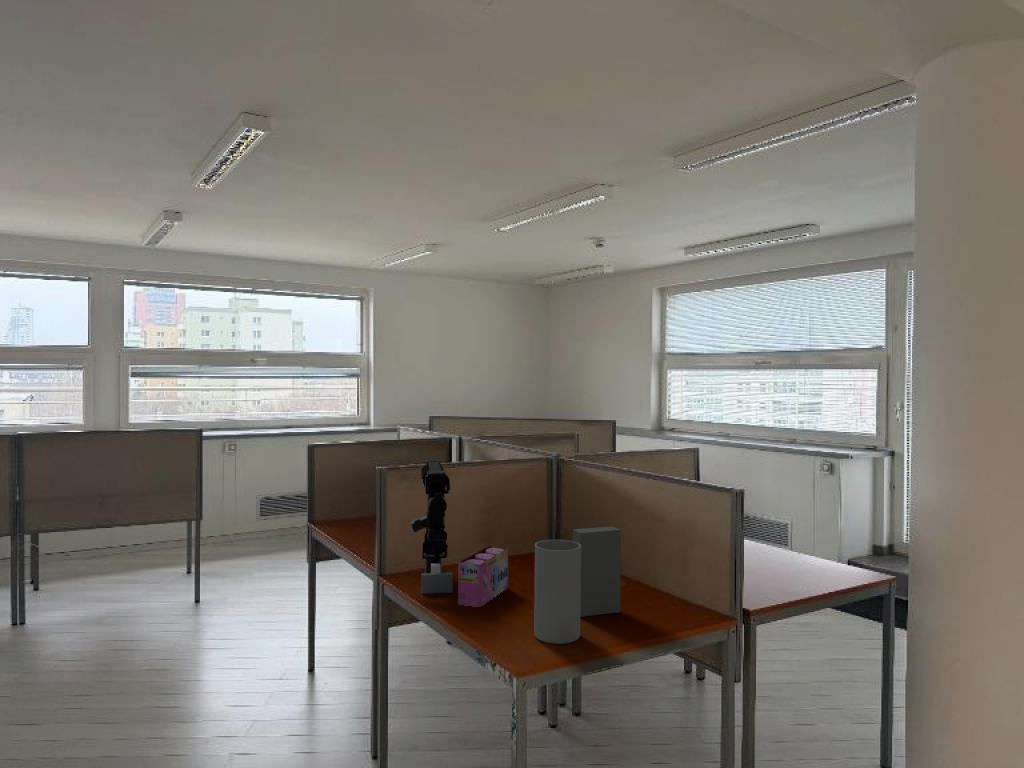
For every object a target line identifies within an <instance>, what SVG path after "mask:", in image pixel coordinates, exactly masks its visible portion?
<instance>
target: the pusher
mask: <svg viewBox="0 0 1024 768" xmlns="http://www.w3.org/2000/svg"><path fill="white" fill-rule="evenodd" d="M440 569H441V566H440V563H439V564H431V573H424V572H423V573H421V586H420V587H421V592H420V593H421V594H422V595H423V594H443V593H444V594H446V593H447V594H449V593H453V584H454V582H453V580H454V579H453V577H454V575H453V572H443V573H440Z"/></svg>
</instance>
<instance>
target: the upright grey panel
mask: <svg viewBox="0 0 1024 768" xmlns="http://www.w3.org/2000/svg"><path fill="white" fill-rule="evenodd" d="M621 535H622V530H621V529H620V528H618V527H615V526H602V527H601V526H600V527H590V528H589V527H588V528H575V529H574V528H573V529H572V541H573V542H577V543H579V544H580V545H581V599H580V617H581V618H583V617H590V616H598V615H606V614H615V613H616V614H619V613H621V611H622V610H621V562H622V561H621V559H622V558H621V553H622V552H621V548H622V547H621V546H622V544H621V543H622V541H621V540H622V539H621V538H622V536H621Z"/></svg>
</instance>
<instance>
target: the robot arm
mask: <svg viewBox="0 0 1024 768" xmlns="http://www.w3.org/2000/svg"><path fill="white" fill-rule="evenodd" d="M421 479H423V482H422V485H423V484H424V487H425V490H424V493H425V495H426V498H427V499H426V500H427V502H426V503H427V511H426V512H425V513H426V515H424V516H421V517H418V518H415V519H412V520H411V521H410V525H411V528H412V531H413V533H417V532H419V531H421V530H423V529H425V531H426V532H425V534H424V536H423V541H422V542H421V559H422V560H425V568H424V569H425V570H423V573H431V564H439V563H440V566H441V569H440V573H444V572H443V569H442V566H443V565H442V562H443V561H442V560H443V559H446V558H448V549H449V545H448V544H447V541H448V532H447V530H446V525H445V524H446V523H445V522H446V521H445V519H446V511H447V508H448V504H447V501H446V495H445V494H447V495H448V494H450V492H451V483H450V480H451V479H450V477H449V475H448V474H447V472H446V471H445V467H444V466H442V464H441V461H440V460H438V459H437V460H427V461H426V464H425V465H423V467H421V473H420V480H421Z"/></svg>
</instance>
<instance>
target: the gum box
mask: <svg viewBox="0 0 1024 768" xmlns="http://www.w3.org/2000/svg"><path fill="white" fill-rule="evenodd" d="M508 550H509V548H508V547H504V549H502V548H497V547H493V546H491V545H488V546H485V547H483V548H481V549H480V550H478V551H476V552H474V553H473V554H470V555H469V556H466V557H465V558H464V559H461V560H460V561H458V563H457V564H458V567H457V569H458V573H457V574H458V577H457V579H458V581H457V584H458V585H457V588H458V589H457V605H458V606H462V605H464V606H463V607H468V606H472V607H471V608H476V607H481V606H482V607H483V606H485V605H486V603H487V602H488V603H489V602H491V601H492V600H494V599H495V598H496V596H497V595H498V594H499V595H500V593H501V592H502V593H504V592H505V591H506V590H508V589H509V551H508ZM507 588H508V589H507ZM504 590H505V591H504ZM503 591H504V592H503ZM502 593H501V594H502ZM499 595H498V596H499ZM498 596H497V597H498ZM494 597H495V598H494ZM493 598H494V599H493ZM490 600H491V601H490ZM488 603H487V604H488ZM482 607H481V608H482Z"/></svg>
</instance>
